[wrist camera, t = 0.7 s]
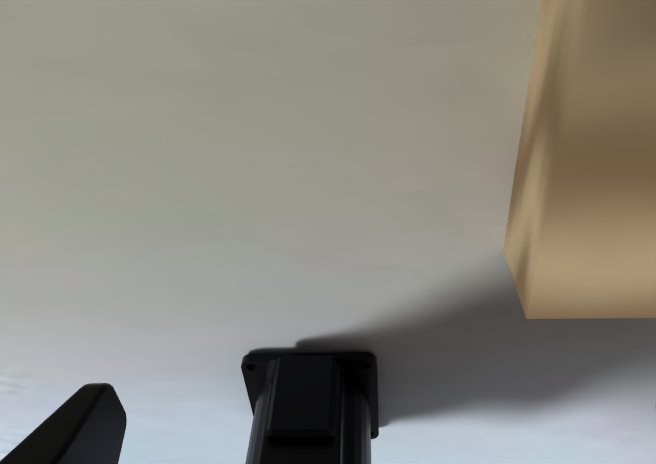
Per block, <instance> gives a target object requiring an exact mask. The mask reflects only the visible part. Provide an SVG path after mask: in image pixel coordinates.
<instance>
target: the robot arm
mask: <svg viewBox="0 0 656 464" xmlns="http://www.w3.org/2000/svg"><path fill="white" fill-rule="evenodd" d="M364 362H368V363H364ZM241 369H242V373H243V377H244V381H245V385H246V388H247V392H248V396H249V400H250V404H251V408H252V412H253V416H254V418H253V424H252V430H251V435H250V441H249V446H248V452H247V458H246V463H245V464H371V439H374V438H376V437H377V436H378V434H379V429H378V393H377V360H376V356H375V355H374V354H372V353H369V352H343V353H282V354H248V355H246V356H244V357H243V360H242V364H241ZM125 429H126V413H125V411H124V408H123V406H122V404H121V402H120V400H119V398H118V396H117V394H116V392H115V390H114V388H113V386H112V385H110V384H108V383H92V384H86V385H84V386H83V387H81V388H80V389H79V390H78V391H77V392H76V393H75V394H73V395H72V396H71V397H70V398H69V399H68V400H67V401H66V402H65V403H64V404H62V405H61V406H60V407H59V408H58V409H57V410H56V411H55V412H54V413H53V414H52V415H50V416H49V417H48V418H47V419H46V420H45V421H44V422H43V423H42V424H41V425H39V426H38V427H37V428H36V429H35V430H34V431H33V432H32V433H31V434H30V435H28V436H27V437H26V438H25V439H24V440H23V441H22V442H21V443H20V444H19V445H17V446H16V447H15V448H14V449H13V450H12V451H11V452H10V453H9V454H8V455H7V456H5V457H4V458H3V459H2V460H1V461H0V464H118V461H119V457H120V452H121V448H122V443H123V438H124V434H125Z"/></svg>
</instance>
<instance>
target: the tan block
mask: <svg viewBox="0 0 656 464" xmlns="http://www.w3.org/2000/svg"><path fill="white" fill-rule="evenodd" d="M503 250H504V253H505V257H506V260H507V263H508V266H509V269H510V272H511V275H512V278H513V281H514V284H515V287H516V290H517V293H518V296H519V299H520V302H521V305H522V308H523V311H524V314H525V317H526V319H588V318H656V0H541V4H540V11H539V18H538V24H537V31H536V37H535V44H534V50H533V57H532V63H531V70H530V77H529V83H528V90H527V96H526V103H525V109H524V116H523V123H522V129H521V136H520V142H519V149H518V155H517V162H516V168H515V175H514V182H513V188H512V195H511V201H510V208H509V214H508V221H507V228H506V234H505V241H504V247H503Z"/></svg>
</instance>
